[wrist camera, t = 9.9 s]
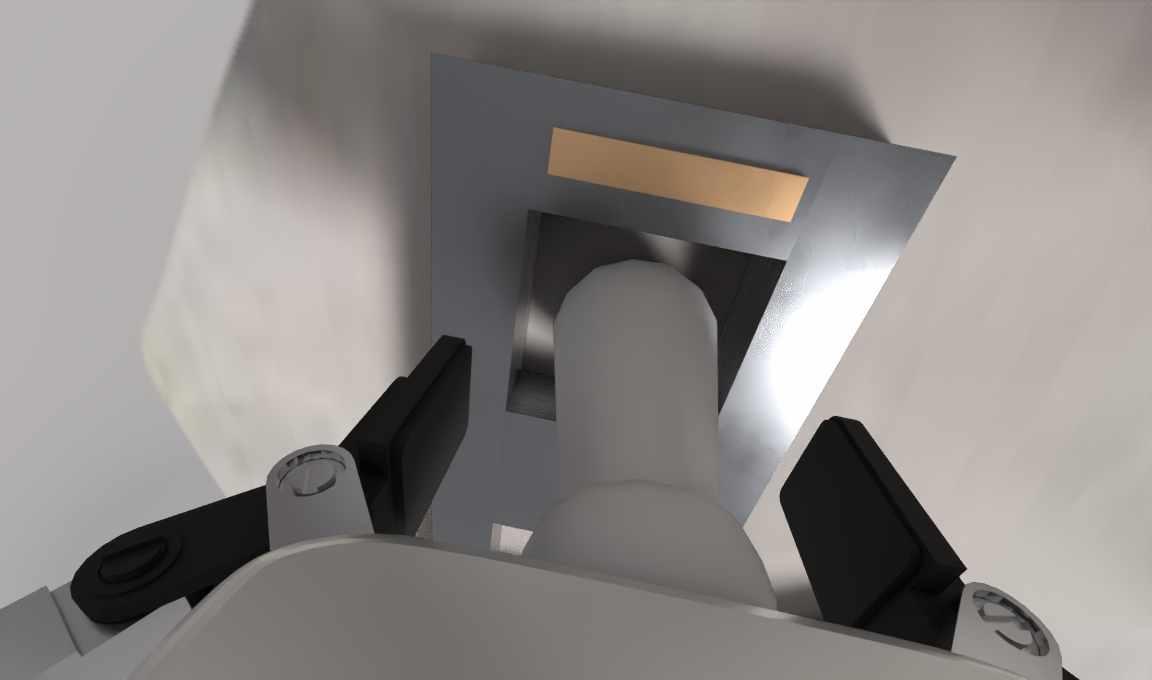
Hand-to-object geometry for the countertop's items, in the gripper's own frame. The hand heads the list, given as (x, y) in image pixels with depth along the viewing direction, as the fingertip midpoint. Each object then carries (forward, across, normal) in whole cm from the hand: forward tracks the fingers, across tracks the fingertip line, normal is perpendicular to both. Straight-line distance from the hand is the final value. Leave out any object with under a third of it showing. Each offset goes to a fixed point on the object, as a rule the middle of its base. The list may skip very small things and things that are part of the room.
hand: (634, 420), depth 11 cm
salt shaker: (+7, 0, 0) cm, 7 cm away
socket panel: (+7, 0, +8) cm, 10 cm away
